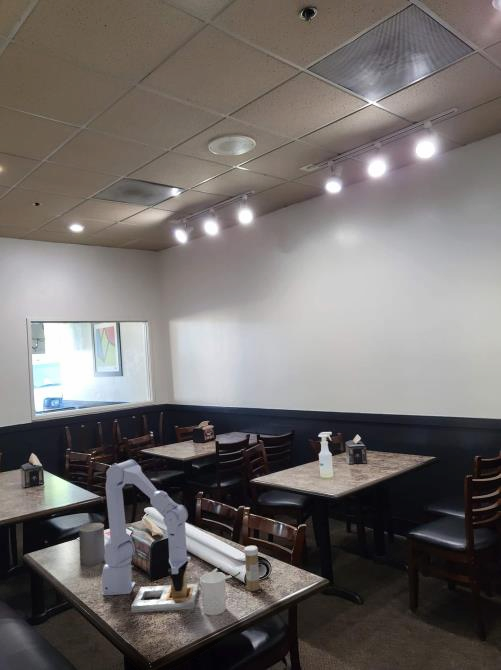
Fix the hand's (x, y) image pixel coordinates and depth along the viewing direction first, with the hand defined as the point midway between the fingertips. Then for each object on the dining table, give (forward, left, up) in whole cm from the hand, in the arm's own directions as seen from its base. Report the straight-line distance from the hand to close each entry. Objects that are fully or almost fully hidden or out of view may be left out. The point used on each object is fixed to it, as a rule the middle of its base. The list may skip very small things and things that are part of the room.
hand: (179, 587), depth 160 cm
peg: (0, 0, -3) cm, 3 cm away
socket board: (-5, 0, -4) cm, 6 cm away
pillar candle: (-41, +37, -4) cm, 55 cm away
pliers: (+11, +15, -5) cm, 19 cm away
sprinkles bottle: (+24, +5, -4) cm, 25 cm away
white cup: (+12, -8, -4) cm, 15 cm away
